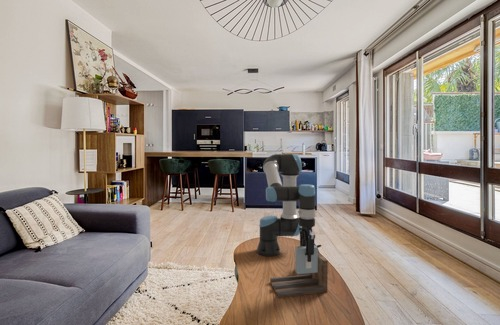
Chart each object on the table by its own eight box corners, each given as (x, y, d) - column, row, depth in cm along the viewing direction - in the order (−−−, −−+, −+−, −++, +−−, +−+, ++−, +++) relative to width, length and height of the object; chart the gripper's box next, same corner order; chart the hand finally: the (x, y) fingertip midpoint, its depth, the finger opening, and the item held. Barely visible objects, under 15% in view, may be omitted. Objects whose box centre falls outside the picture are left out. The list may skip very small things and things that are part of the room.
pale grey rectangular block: (295, 271, 127) (295, 246, 126) (314, 269, 129) (315, 245, 128) (297, 274, 124) (297, 248, 123) (317, 272, 126) (317, 247, 125)
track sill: (270, 282, 134) (270, 253, 134) (314, 278, 139) (314, 249, 138) (278, 297, 120) (278, 265, 120) (327, 291, 125) (327, 260, 125)
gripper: (293, 214, 133) (293, 260, 133) (306, 222, 117) (306, 274, 118) (307, 213, 134) (307, 259, 135) (322, 221, 118) (321, 273, 119)
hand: (306, 266), depth 126 cm, fingers closed on pale grey rectangular block, 3 cm apart
